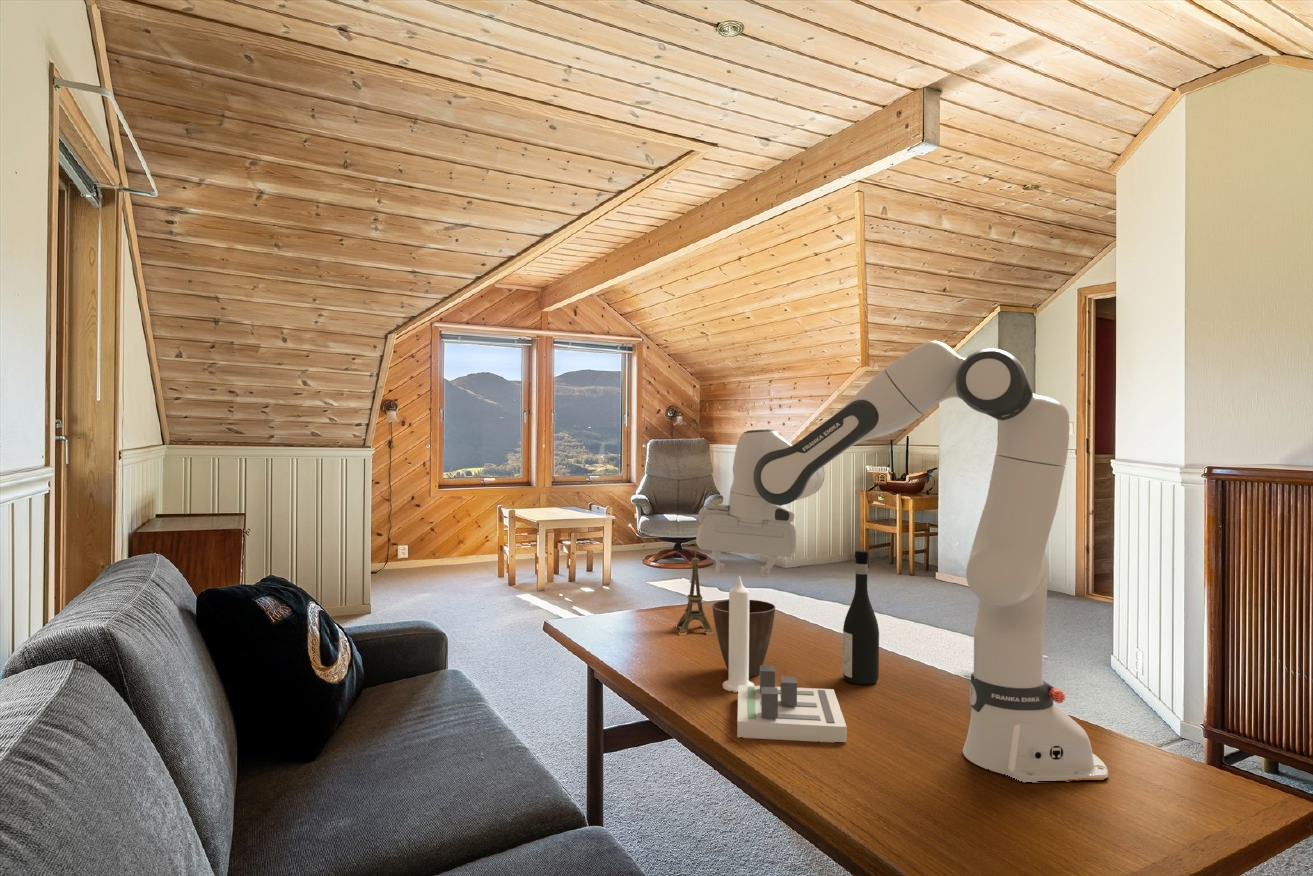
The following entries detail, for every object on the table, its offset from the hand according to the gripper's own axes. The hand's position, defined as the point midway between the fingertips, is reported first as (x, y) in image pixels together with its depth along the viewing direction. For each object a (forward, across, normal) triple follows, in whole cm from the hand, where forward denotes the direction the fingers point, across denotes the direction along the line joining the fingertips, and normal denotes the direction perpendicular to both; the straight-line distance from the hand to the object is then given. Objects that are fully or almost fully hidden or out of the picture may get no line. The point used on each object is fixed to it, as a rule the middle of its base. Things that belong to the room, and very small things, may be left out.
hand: (742, 574), depth 157 cm
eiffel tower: (+33, +4, +63) cm, 71 cm away
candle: (+29, +6, +12) cm, 32 cm away
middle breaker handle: (+23, +11, -7) cm, 27 cm away
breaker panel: (+27, +11, -7) cm, 30 cm away
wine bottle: (+26, +35, +15) cm, 46 cm away
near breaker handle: (+23, +5, -13) cm, 27 cm away
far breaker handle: (+24, +8, +1) cm, 25 cm away
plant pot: (+29, +9, +23) cm, 38 cm away
